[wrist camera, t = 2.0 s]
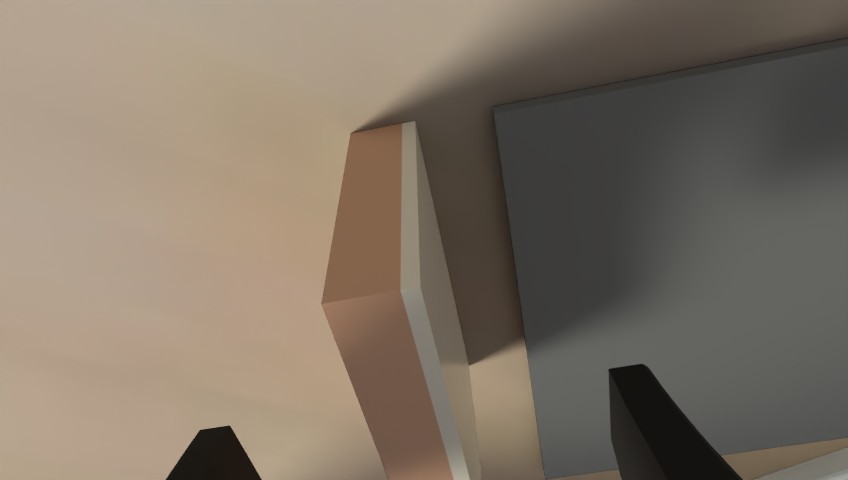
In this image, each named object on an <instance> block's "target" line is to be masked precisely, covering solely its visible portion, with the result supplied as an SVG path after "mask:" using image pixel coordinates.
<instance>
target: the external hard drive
mask: <svg viewBox="0 0 848 480" xmlns="http://www.w3.org/2000/svg"><path fill="white" fill-rule="evenodd" d="M753 480H848V447H847V448H844V449H841V450H838V451H835V452H832V453H829V454H827V455H824V456H821V457H818V458H815V459H812V460H809V461H806V462H803V463H800V464H797V465H794V466H791V467H788V468H785V469H782V470H779V471H776V472H774V473H771V474H768V475H765V476H762V477H759V478H756V479H753Z"/></svg>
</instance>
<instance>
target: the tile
mask: <svg viewBox="0 0 848 480" xmlns="http://www.w3.org/2000/svg"><path fill="white" fill-rule="evenodd" d="M321 304H322V307H323V309H324V312H325V315H326V317H327V320H328V322H329V325H330V328H331V330H332V333H333V335H334V338H335V341H336V343H337V346H338V349H339V351H340V354H341V356H342V359H343V362H344V364H345V367H346V369H347V372H348V375H349V377H350V380H351V382H352V385H353V388H354V390H355V393H356V396H357V398H358V401H359V403H360V406H361V409H362V411H363V414H364V416H365V419H366V422H367V424H368V427H369V430H370V432H371V435H372V437H373V440H374V443H375V445H376V448H377V450H378V453H379V456H380V458H381V461H382V464H383V466H384V469H385V471H386V474H387V477H388V479H389V480H482V475H481V466H480V457H479V449H478V440H477V431H476V423H475V414H474V405H473V397H472V388H471V379H470V371H469V364H468V359H467V355H466V350H465V346H464V341H463V336H462V332H461V327H460V323H459V318H458V314H457V309H456V305H455V300H454V295H453V291H452V286H451V282H450V277H449V273H448V268H447V264H446V259H445V254H444V250H443V245H442V241H441V236H440V232H439V227H438V223H437V218H436V213H435V209H434V204H433V200H432V195H431V191H430V186H429V182H428V177H427V173H426V168H425V163H424V159H423V154H422V150H421V145H420V141H419V136H418V132H417V127H416V122H415V121H412V122H407V123H402V124H397V125H392V126H386V127H381V128H376V129H371V130H366V131H361V132H355V133H351V134H350V140H349V146H348V152H347V158H346V164H345V169H344V175H343V181H342V187H341V193H340V198H339V204H338V210H337V216H336V222H335V228H334V233H333V239H332V245H331V251H330V257H329V263H328V268H327V274H326V280H325V286H324V292H323V298H322V303H321Z"/></svg>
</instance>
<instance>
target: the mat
mask: <svg viewBox="0 0 848 480" xmlns="http://www.w3.org/2000/svg"><path fill="white" fill-rule="evenodd" d="M492 109H493V116H494V123H495V130H496V137H497V144H498V151H499V158H500V165H501V173H502V180H503V187H504V194H505V201H506V208H507V215H508V222H509V229H510V236H511V243H512V251H513V258H514V265H515V272H516V279H517V286H518V293H519V300H520V307H521V314H522V321H523V329H524V336H525V343H526V350H527V357H528V364H529V371H530V378H531V385H532V392H533V400H534V407H535V414H536V421H537V428H538V435H539V442H540V449H541V456H542V463H543V470H544V475H545V479H551V478H558V477H566V476H573V475H580V474H587V473H595V472H602V471H609V470H616V469H619V467H618V464H617V460H616V456H615V453H614V449H613V445H612V441H611V428H610V399H609V370H608V369H610V368H617V367H623V366H630V365H637V364H644V365H646V366H647V367H649V369H650V370H651V371H652V373H653V374H654V376H655V377H656V378H657V380H658V381H659V382H660V384H661V385H662V387H663V388H664V389H665V390H666V392H667V393H668V394H669V396H670V397H671V398H672V400H673V401H674V402H675V403H676V405H677V406H678V407H679V408H680V410H681V411H682V412H683V413H684V414H685V416H686V417H687V418H688V419H689V420H690V422H691V423H692V424H693V425H694V426H695V428H696V429H697V430H698V431H699V432H700V433H701V435H702V436H703V437H704V438H705V439H706V440H707V441H708V443H709V444H710V445H711V446H712V447H713V448H714V449H715V450H716V451H717V452H718V454H719V455H725V454H732V453H739V452H747V451H754V450H761V449H768V448H776V447H783V446H790V445H797V444H805V443H812V442H819V441H826V440H834V439H841V438H848V38H846V39H841V40H835V41H830V42H825V43H820V44H815V45H810V46H804V47H799V48H794V49H789V50H784V51H779V52H773V53H768V54H763V55H758V56H753V57H748V58H742V59H737V60H732V61H727V62H722V63H717V64H711V65H706V66H701V67H696V68H691V69H686V70H680V71H675V72H670V73H665V74H660V75H655V76H649V77H644V78H639V79H634V80H629V81H624V82H618V83H613V84H608V85H603V86H598V87H593V88H587V89H582V90H577V91H572V92H567V93H562V94H556V95H551V96H546V97H541V98H536V99H531V100H525V101H520V102H515V103H510V104H505V105H500V106H494V107H492Z"/></svg>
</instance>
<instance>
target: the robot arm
mask: <svg viewBox="0 0 848 480" xmlns="http://www.w3.org/2000/svg"><path fill="white" fill-rule="evenodd" d="M608 370H609V399H610V428H611V441H612V445H613V449H614V453H615V456H616V460H617V464H618V467H619V471H620V475H621V478H622V480H742V479H741V477H740V476H739V475H738V474H737V473H736V472H735V471H734V470H733V469H732V468H731V467H730V466H729V465H728V463H727V462H726V461H725V460H724V459H723V458H722V457H721V456H720V455H719V454H718V452H717V451H716V450H715V449H714V448H713V447H712V446H711V445H710V444H709V443H708V441H707V440H706V439H705V438H704V437H703V436H702V435H701V433H700V432H699V431H698V430H697V429H696V428H695V426H694V425H693V424H692V423H691V422H690V420H689V419H688V418H687V417H686V416H685V414H684V413H683V412H682V411H681V410H680V408H679V407H678V406H677V405H676V403H675V402H674V401H673V400H672V398H671V397H670V396H669V394H668V393H667V392H666V390H665V389H664V388H663V387H662V385H661V384H660V382H659V381H658V380H657V378H656V377H655V376H654V374H653V373H652V371H651V370H650V369H649V367H647V366H646V365H644V364H637V365H630V366H623V367H617V368H610V369H608ZM166 480H261V478H260V476H259V474H258V473H257V471H256V469H255V468H254V466H253V464H252V462H251V461H250V459H249V457H248V456H247V454H246V452H245V450H244V449H243V447H242V445H241V444H240V442H239V440H238V439H237V437H236V435H235V433H234V432H233V430H232V428H231V427H230V426H224V427H217V428H210V429H204V430H200V431H199V432H198V434H197V435H196V436H195V438H194V439H193V441H192V442H191V444H190V445H189V446H188V448H187V449H186V451H185V452H184V454H183V455H182V457H181V458H180V459H179V461H178V462H177V464H176V465H175V467H174V468H173V470H172V471H171V473H170V474H169V476H168V477H167V479H166Z"/></svg>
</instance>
